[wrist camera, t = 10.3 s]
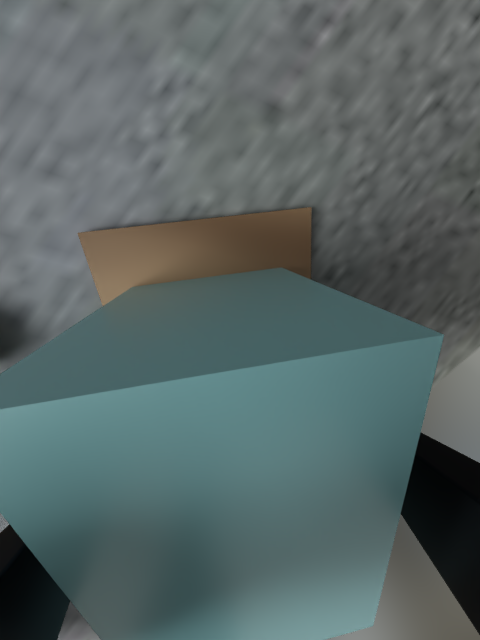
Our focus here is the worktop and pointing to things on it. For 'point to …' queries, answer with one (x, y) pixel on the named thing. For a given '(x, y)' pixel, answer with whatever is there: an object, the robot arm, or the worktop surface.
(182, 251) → the walnut board
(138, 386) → the light blue block
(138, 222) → the worktop surface
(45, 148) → the worktop surface
